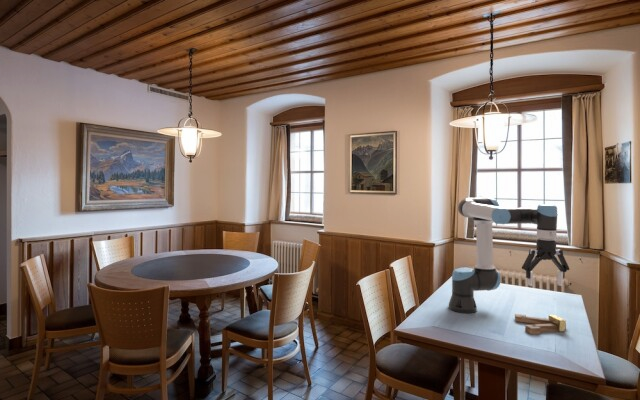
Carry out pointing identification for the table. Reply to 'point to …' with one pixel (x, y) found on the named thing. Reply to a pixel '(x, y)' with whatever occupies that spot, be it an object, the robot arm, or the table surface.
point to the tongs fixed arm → (541, 328)
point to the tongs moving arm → (532, 320)
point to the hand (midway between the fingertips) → (544, 285)
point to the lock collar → (558, 322)
